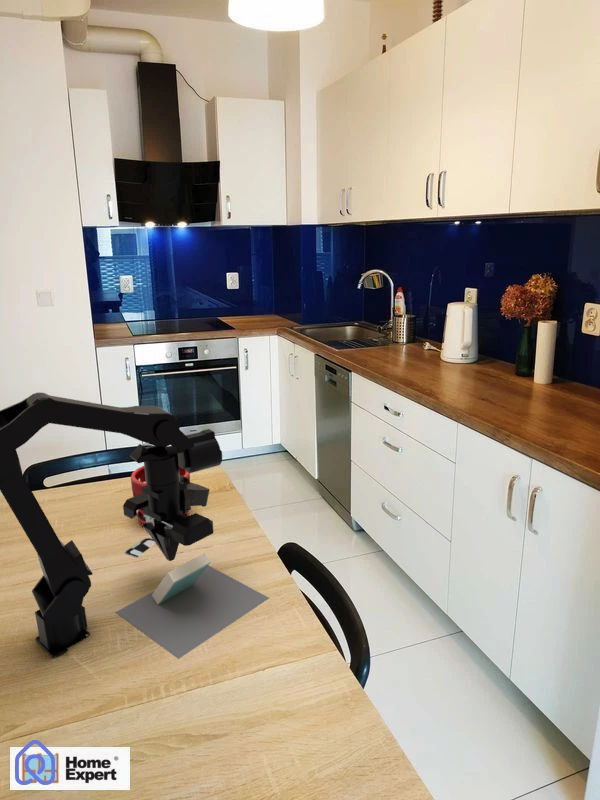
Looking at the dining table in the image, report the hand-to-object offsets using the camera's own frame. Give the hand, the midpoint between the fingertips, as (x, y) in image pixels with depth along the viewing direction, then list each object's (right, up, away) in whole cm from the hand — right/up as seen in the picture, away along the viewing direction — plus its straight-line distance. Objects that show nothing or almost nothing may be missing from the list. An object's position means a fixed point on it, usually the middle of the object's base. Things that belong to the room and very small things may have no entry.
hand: (171, 559), depth 104 cm
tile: (0, -6, +2) cm, 6 cm away
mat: (+4, -8, -1) cm, 9 cm away
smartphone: (-5, -4, +16) cm, 17 cm away
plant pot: (-8, +1, +31) cm, 32 cm away
